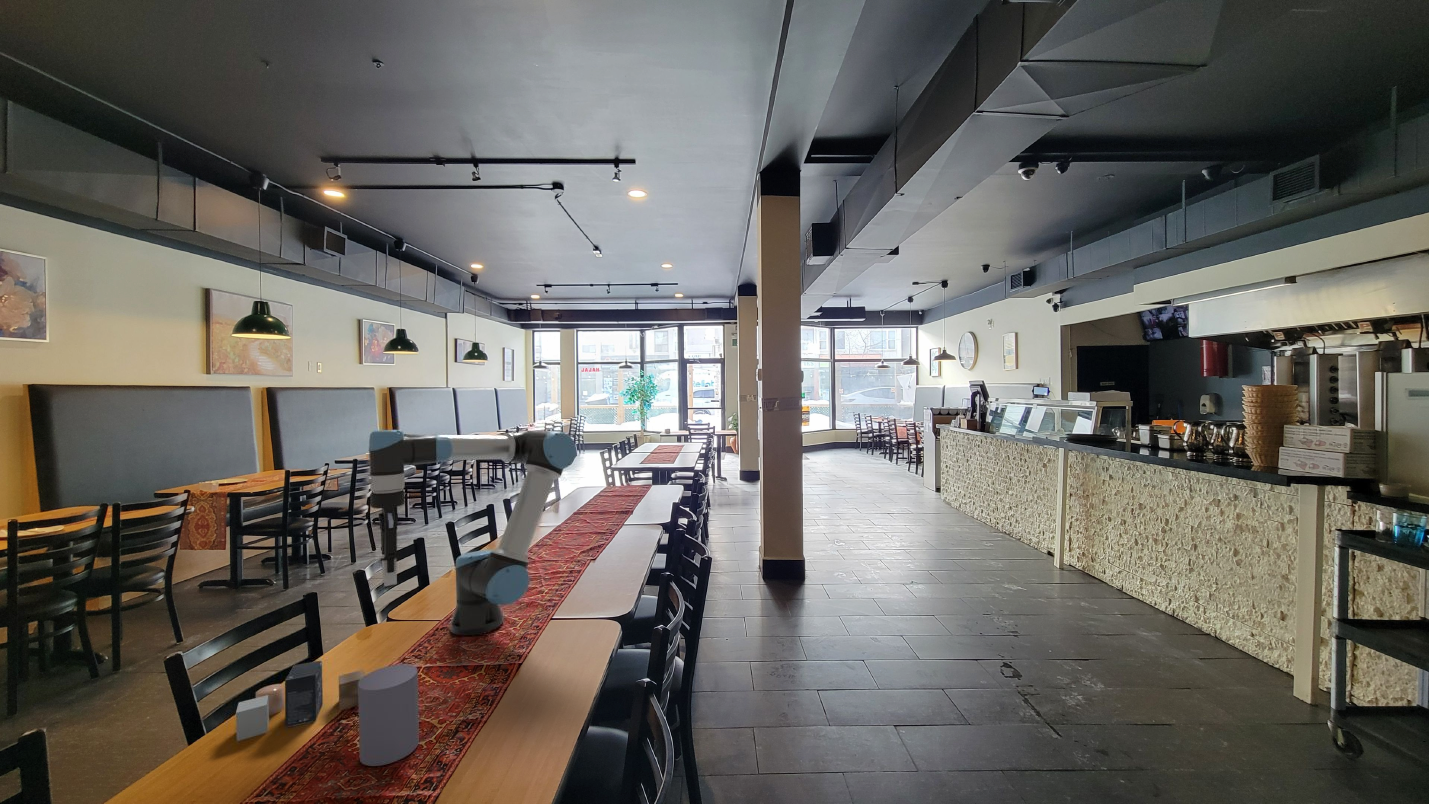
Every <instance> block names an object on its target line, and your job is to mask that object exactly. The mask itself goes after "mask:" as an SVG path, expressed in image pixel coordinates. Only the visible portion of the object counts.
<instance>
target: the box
mask: <svg viewBox="0 0 1429 804" xmlns="http://www.w3.org/2000/svg"><path fill="white" fill-rule="evenodd" d="M323 697H324V694H323V660H317V661H312V662H311V661H310V662H305V663H301V664H300V663H298V664H295V665H292V668H291V670H290V671H289V674H288V675H287V676H286V677H285V680H284V711H285V713H284V715H285V716H284V719H285V720H284V725H285V728H289V727H296V726H301V725H305V724H310V723H315V722H316V720H317V718H318V716H319V714H320V712H321V709H322V707H323V704H324V703H323V702H324V701H323V700H324V698H323Z"/></svg>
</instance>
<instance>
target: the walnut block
mask: <svg viewBox="0 0 1429 804" xmlns="http://www.w3.org/2000/svg"><path fill="white" fill-rule="evenodd" d="M364 676H365V670H364V669H361V670H356V671H353V672H349V673H345V674H342V675H341V674H340V675H338V704H339V705H338V706H339V711H343V710H347V709H350V708H353V707H357V706H359V703H358V682H359V680H360V679H361V678H362V677H364Z"/></svg>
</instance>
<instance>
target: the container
mask: <svg viewBox="0 0 1429 804" xmlns="http://www.w3.org/2000/svg"><path fill="white" fill-rule="evenodd" d="M364 675H365V674H364ZM418 678H419V677H418V668H417V667H416V665H415V666H414V665H412V664H407V663H405V664H403V663H402V664H393V665H389V666H384V667H381V668H378V669H375V670H373V671H371V672H368V673H367V674H366V675H365V676H364V677H362V678H361V679H360V680H359V682H358V703H359V705H358V742H359V761H360V763H361V764H362V765H365V766H369V767H381V766H386V765H389V764H392V763H396V762H398V761H400V760H402V759H404V758H406V757H407V756H409V755H410V754H411V753H413V752H414V751H415V750H416V748H417V747H418V746H419V743H420V729H419V728H420V726H419V723H420V722H419V720H420V719H419V687H418V686H419V684H418V683H419V682H418Z"/></svg>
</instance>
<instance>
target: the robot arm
mask: <svg viewBox="0 0 1429 804" xmlns="http://www.w3.org/2000/svg"><path fill="white" fill-rule="evenodd" d="M368 453H369V454H368V456H369V471H370V472H369V475H370V477H369V479H367V480H366V483H368V484H369V485H370V491H372V492H371V494H370V497H369V498H370V508H372V509H377V510H378V509H381V512H380V513H378V521H379V530H380V544H381V545H380V546H381V547H380V550H381V558H380V560H381V562H382V563H381V571H382V575H381V576H382V577H381V578H382V582H383V583H384V584H383V586H384V587H387V586H394V585H397V584H398V582H397V581H398V579H397V577H398V576H397V575H398V574H397V573H398V570H397V568H398V567H397V558H398V555H399V554H398V542H397V541H398V537H397V536H398V533H397V530H398V520H399V513H398V512H397V511H395V508H396V507H402V506H403V505H405V502H406V501H405V499H406V498H405V497H406V496H405V495H406V494H405V493H406V492H405V490H403V489H404V488H405V481H406V480H405V466H412V465H423V464H425V465H427V464H434V463H436V464H438V463H443V462H447V461H461V460H462V461H465V460H467V461H469V460H473V461H474V460H475V461H476V460H477V461H478V460H481V461H482V460H501V461H502V462H504V463H518V464H524V468H525V469H526V475H525V478H524V480H523V482H522V483H523V484H522V485H521V489H520V490H519V492H518V493H519V494H518V496H517V498H516V501H515V504H514V505H513V509H512V510H511V515H510V516H509V519H508V521H507V523H506V527H505V529H504V531H503V534H502V537H501V540H500V543H499V545H498V547H496V548H495V549H485V550H483V549H481V550H477V551H470V552H467V553H464V554H462V555H459V556H458V557H457V558H456V560H455V566H454V567H455V568H454V569H455V592H456V593H455V594H456V606H455V609H454V612H453V616H452V618H451V621H450V632H451V634H453V635H455V636H460V635H461V636H462V635H465V636H464V637H467V636H466V635H472V636H476V635H475V634H479V635H482V634H481V633H484V632H487V633H489V632H488V631H490V632H492V631H491V630H493V629H495V628H497V627H499V626H500V625H501V624H502V623H504V613H503V611H502V608H501V606H508V605H511V604H514V603H515V602H517V601H519V600H520V599H521V598H522V597H523V596H524V595H525V594H526V592H527V590H528V589H529V587H530V586H529V585H530V575H529V574H530V573H529V572H528V570H527V569H528V566H529V564H530V560H529V558H528V556H527V554H528V552H529V549H530V546H531V544H532V541H533V539H534V535H535V533H536V530H537V527H538V525H539V522H540V519H541V516H542V514H543V511H544V508H545V505H546V504H547V501H548V498H549V495H550V492H551V490H552V487H553V485H554V482H555V481H556V480H558V479H559V478H561V476H562V474H563V471H564V469H567V468H568V467H569V466H571V465H572V464H573V463H574V461H575V459H576V454H577V448H576V444H575V442H574V440H573V438H572V436H570V434H568V433H566V432H564V431H558V430H529V431H522V432H519V431H518V432H505V433H503V434H502V435H478V434H477V435H473V434H472V435H469V434H466V435H465V434H464V435H463V434H460V435H459V434H458V435H457V434H407V433H404V432H403V430H401V429H388V430H387V429H382V430H381V429H379V430H374V431H372V432H370V434H369V440H368ZM500 605H501V606H500ZM502 625H503V624H502ZM502 625H501V626H502ZM501 626H500V627H501ZM500 627H499V628H500ZM497 629H498V628H497ZM495 630H496V629H495ZM493 631H494V630H493ZM484 634H485V633H484Z"/></svg>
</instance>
